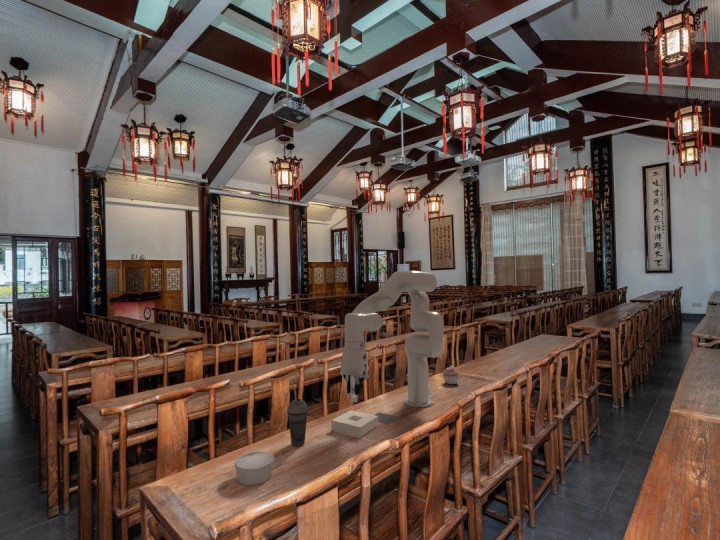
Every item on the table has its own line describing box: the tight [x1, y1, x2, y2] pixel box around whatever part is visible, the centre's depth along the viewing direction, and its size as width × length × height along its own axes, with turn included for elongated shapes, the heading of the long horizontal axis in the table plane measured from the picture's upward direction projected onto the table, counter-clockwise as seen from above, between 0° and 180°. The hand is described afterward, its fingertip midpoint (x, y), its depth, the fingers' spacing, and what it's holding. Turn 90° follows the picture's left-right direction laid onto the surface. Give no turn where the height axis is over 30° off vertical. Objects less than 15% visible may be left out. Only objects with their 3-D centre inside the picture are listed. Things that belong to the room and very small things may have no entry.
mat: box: [374, 411, 400, 425], centre depth 154 cm, size 10×10×1 cm
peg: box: [349, 375, 359, 403], centre depth 145 cm, size 3×3×12 cm
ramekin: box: [234, 450, 275, 486], centre depth 110 cm, size 11×11×5 cm
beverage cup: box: [287, 386, 309, 448], centre depth 132 cm, size 7×7×20 cm
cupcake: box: [441, 365, 461, 386], centre depth 206 cm, size 9×9×10 cm
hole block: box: [331, 409, 379, 439], centre depth 145 cm, size 13×13×4 cm
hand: (354, 392), depth 145 cm, fingers closed on peg, 3 cm apart
